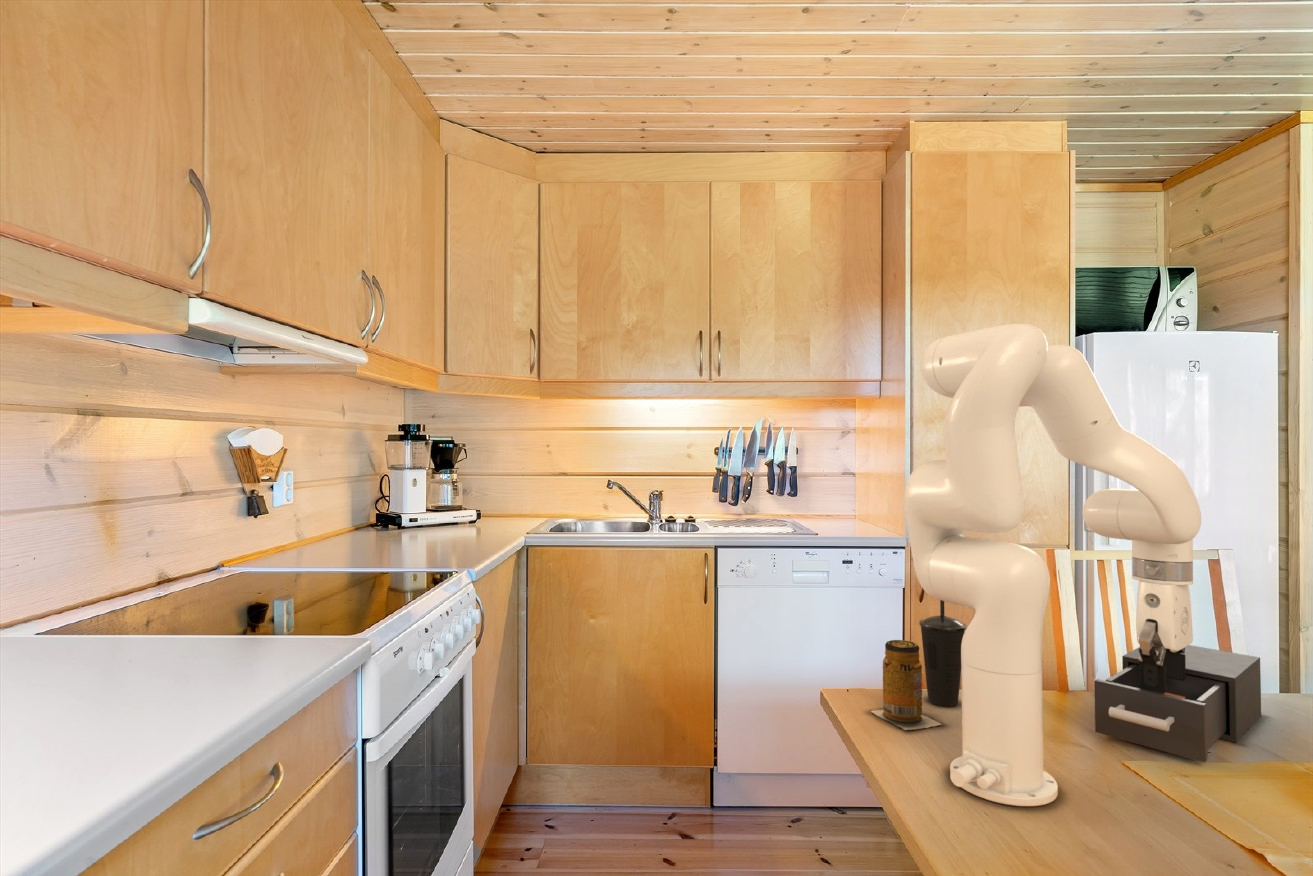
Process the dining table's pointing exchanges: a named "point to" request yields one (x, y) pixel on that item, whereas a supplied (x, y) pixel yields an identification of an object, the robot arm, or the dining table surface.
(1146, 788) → the dining table surface
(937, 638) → the drinking cup
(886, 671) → the condiment
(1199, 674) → the cabinet
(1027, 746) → the robot arm
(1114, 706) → the drawer
